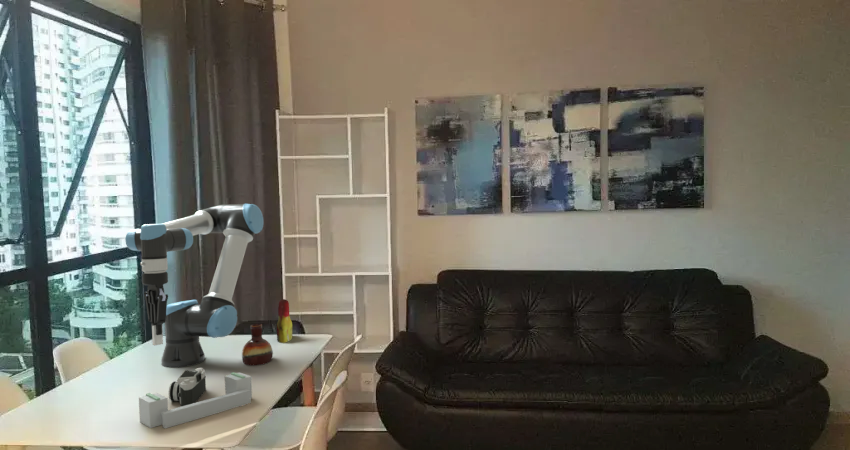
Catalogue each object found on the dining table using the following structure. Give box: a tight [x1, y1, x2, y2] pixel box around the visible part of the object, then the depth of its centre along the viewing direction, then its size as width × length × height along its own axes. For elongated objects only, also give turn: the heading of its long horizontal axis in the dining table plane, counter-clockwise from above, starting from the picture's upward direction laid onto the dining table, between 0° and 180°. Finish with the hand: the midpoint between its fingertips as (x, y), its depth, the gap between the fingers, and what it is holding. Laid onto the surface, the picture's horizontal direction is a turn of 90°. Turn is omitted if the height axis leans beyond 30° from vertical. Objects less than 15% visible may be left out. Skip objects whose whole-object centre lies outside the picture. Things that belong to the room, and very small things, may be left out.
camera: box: [168, 367, 207, 407], centre depth 187 cm, size 16×9×10 cm, turn 4°
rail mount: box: [138, 371, 253, 429], centre depth 177 cm, size 10×31×8 cm, turn 137°
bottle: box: [276, 298, 293, 344], centre depth 254 cm, size 12×6×20 cm, turn 1°
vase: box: [241, 323, 274, 366], centre depth 224 cm, size 11×11×15 cm
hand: (157, 344), depth 195 cm, fingers closed
